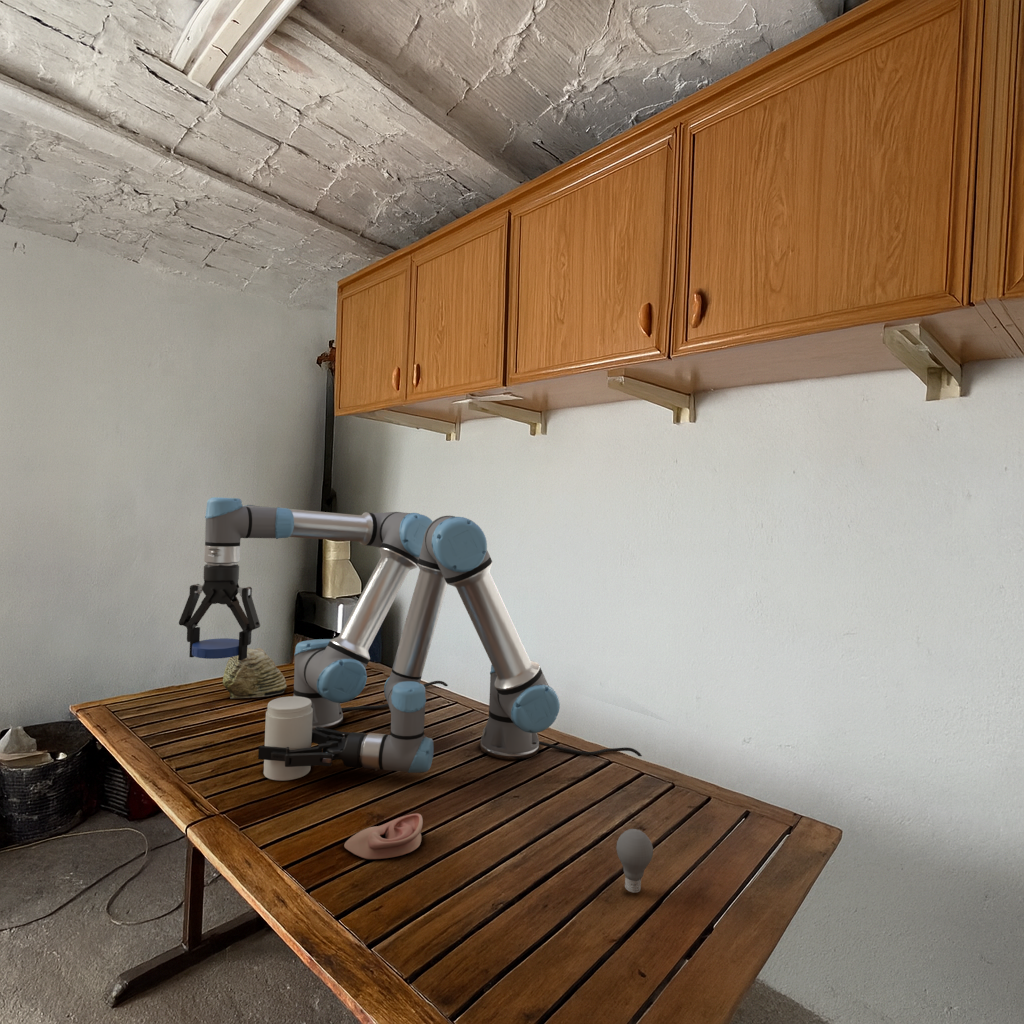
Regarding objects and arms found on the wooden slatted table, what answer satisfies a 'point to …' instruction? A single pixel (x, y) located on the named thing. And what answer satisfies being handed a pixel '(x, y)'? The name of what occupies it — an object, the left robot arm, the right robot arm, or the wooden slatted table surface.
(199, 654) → the lid
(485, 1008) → the wooden slatted table surface
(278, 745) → the jar
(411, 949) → the wooden slatted table surface
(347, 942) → the wooden slatted table surface
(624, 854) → the light bulb
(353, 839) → the anatomical model
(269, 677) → the fossil
